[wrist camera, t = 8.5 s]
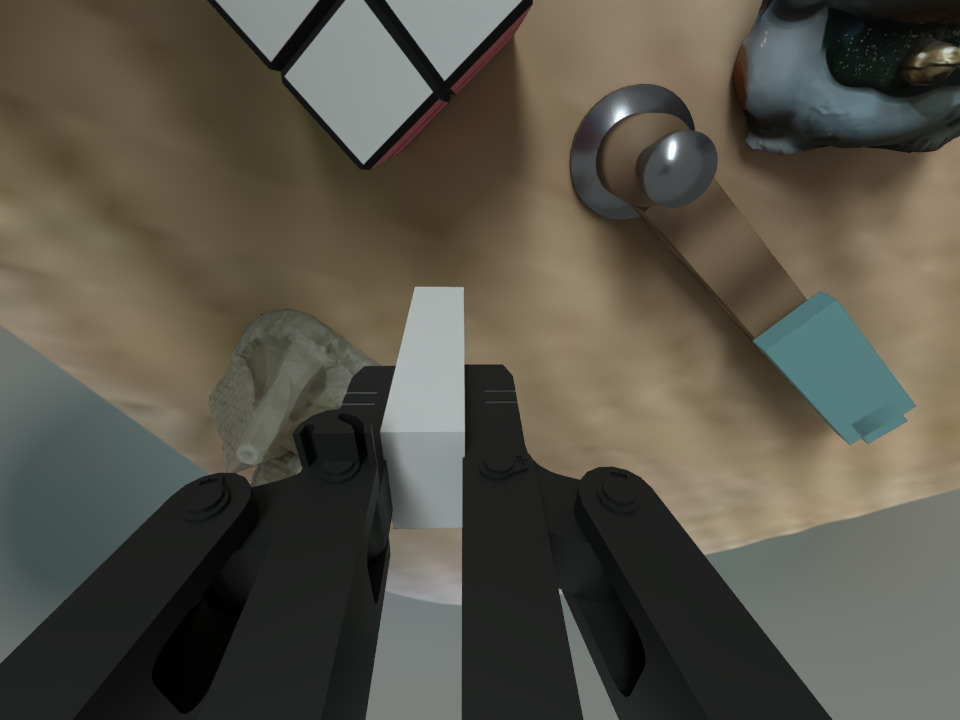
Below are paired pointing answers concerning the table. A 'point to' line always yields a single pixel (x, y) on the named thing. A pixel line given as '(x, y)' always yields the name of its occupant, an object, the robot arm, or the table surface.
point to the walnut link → (701, 231)
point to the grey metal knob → (643, 153)
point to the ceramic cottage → (279, 390)
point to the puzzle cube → (374, 60)
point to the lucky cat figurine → (851, 75)
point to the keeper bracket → (836, 370)
